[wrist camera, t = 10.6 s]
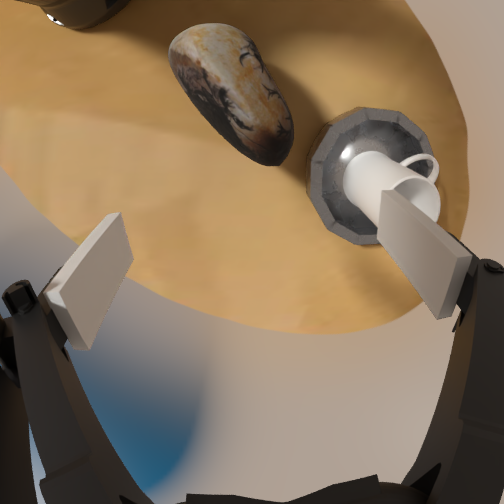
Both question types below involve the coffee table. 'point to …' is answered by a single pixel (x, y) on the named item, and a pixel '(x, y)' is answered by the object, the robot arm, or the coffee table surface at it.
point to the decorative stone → (233, 90)
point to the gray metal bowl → (349, 146)
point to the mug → (390, 183)
